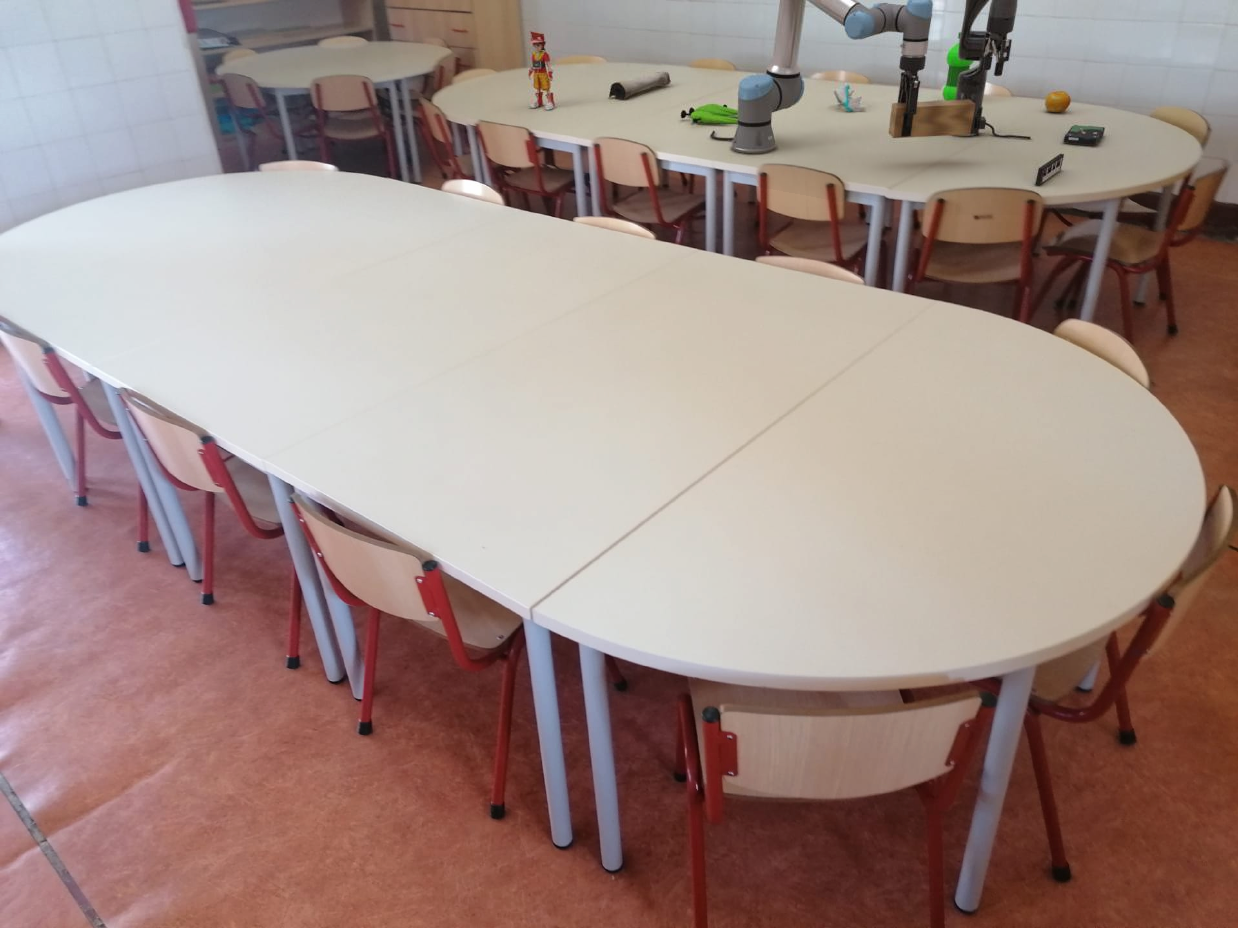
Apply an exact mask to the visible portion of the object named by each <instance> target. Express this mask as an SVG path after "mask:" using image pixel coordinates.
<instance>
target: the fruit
mask: <svg viewBox="0 0 1238 928" xmlns="http://www.w3.org/2000/svg"><path fill="white" fill-rule="evenodd" d="M1071 102H1072V99H1071V96H1070V94H1069V93H1067V92H1066V91H1063V90H1055V91H1052V92H1050V93H1049V94H1048V95H1047V96H1046V98H1045V101H1044V107H1045V109H1046V110H1047V111H1048V112H1051V113H1061V112H1065V111H1066V110H1067V109H1068V108H1069V106H1070V105H1071Z"/></svg>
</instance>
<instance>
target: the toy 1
mask: <svg viewBox="0 0 1238 928" xmlns="http://www.w3.org/2000/svg"><path fill="white" fill-rule="evenodd" d="M529 33H530V35H531V36H528V37H527V38H528V39H529V40H528V41H527V43H529V44H530V43H531V44H532V48H533V50H534V51H533V52H532V55H531V58H530V59H531V63H530V66H528V74H527V75H528V76H527V77H528V79H529V80H531V75H532V74H533V84H532V85H533V86H532V87H533V88H534V89H535V90H536V92H534V95H535V97H536V100H535V101H533V102H531V105H530V108H531V109H535V108H538V107H542V106H544V101H543V100H544V99H543V95H544V92H546V94H545V97H546V99H547V103H546V104H545V106H544V110H546V111H549V110H553V109H554V107H555V106H556V105H555V99H554V92H551V91H550V90H551V86H552V84H551V82H552V81H553V80H554V77H553V73H554V71H555V70H554V69H552V68H551V63H550V61H551V59H550V58H551V57H550V54H549V53H548V52H547V50H546V48H545V46H546V44H547V41H545V35H544V33H543V32H542V33H539V32H535V31H529Z"/></svg>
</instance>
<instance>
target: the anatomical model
mask: <svg viewBox="0 0 1238 928" xmlns="http://www.w3.org/2000/svg"><path fill="white" fill-rule="evenodd" d="M850 89H851V87H850V84H848V83H847V82H844V81H843V82H842V84H841V85H840V86H839V87H836V88H834V90H833V94H834V96H835V98H836V100H837V102H838V104H841V105H843V106H844V108H845V110H846V111H847V112H849V113H850V112H854V111H859V110H860V111H863V110H864V111H865V109H866V108H867V106H866V105H861V104H860V101H861V100H862V99H863V96H862V95H860V96H857V97H855V98H853V97H852V95H853V93H854V92H855V89H854V90H851V91H849V90H850Z"/></svg>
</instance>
